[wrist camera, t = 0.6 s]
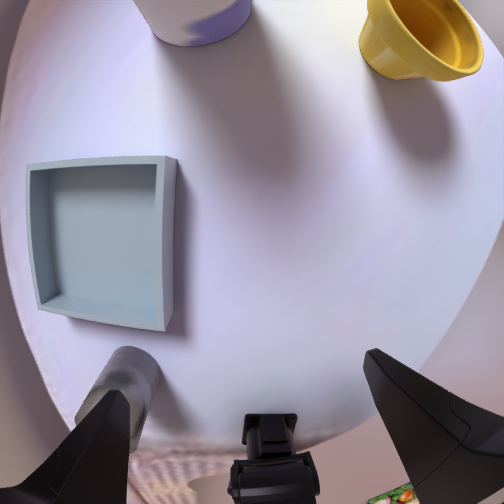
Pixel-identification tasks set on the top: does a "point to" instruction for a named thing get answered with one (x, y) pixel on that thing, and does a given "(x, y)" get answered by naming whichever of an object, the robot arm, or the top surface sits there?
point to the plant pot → (420, 40)
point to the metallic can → (127, 386)
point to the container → (194, 19)
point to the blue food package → (397, 496)
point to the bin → (103, 238)
